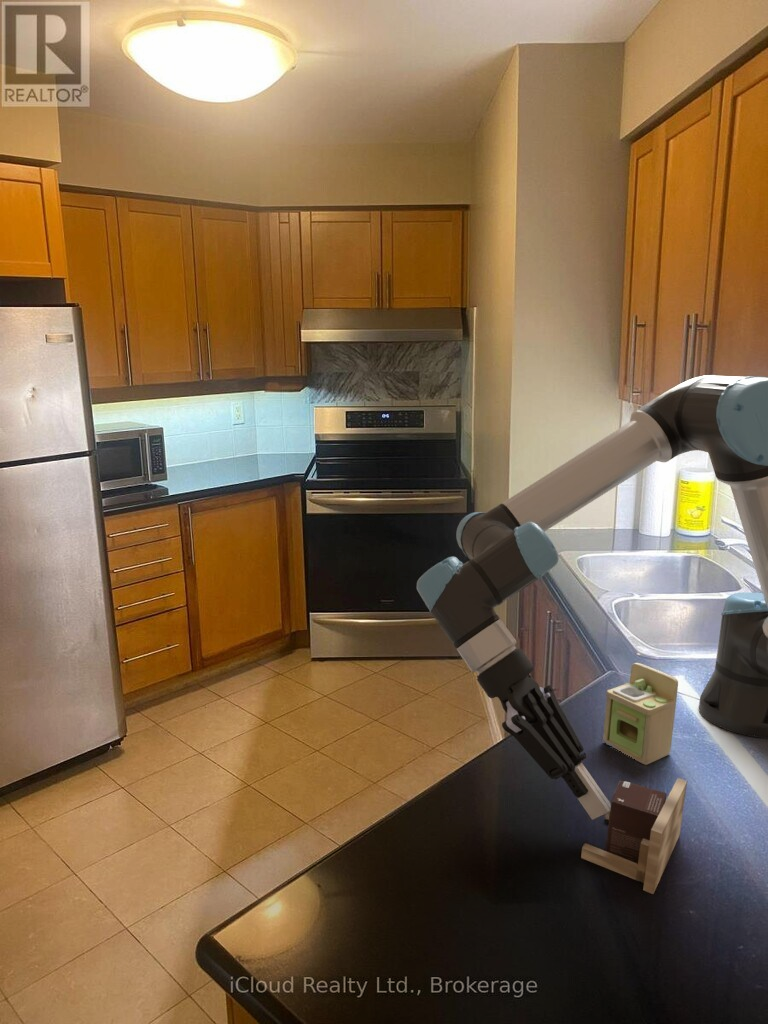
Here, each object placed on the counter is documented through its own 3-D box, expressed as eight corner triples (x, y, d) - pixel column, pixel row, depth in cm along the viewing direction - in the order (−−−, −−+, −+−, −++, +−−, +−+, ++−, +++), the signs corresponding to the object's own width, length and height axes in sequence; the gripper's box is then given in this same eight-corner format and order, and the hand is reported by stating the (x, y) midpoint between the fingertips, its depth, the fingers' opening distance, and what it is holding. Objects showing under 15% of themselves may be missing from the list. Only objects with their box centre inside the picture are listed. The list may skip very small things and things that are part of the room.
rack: (610, 810, 104) (617, 758, 103) (679, 835, 100) (687, 780, 98) (577, 863, 93) (584, 805, 91) (653, 894, 88) (661, 833, 86)
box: (653, 869, 92) (660, 816, 91) (603, 852, 95) (610, 800, 94) (660, 843, 98) (667, 792, 96) (613, 827, 101) (620, 778, 99)
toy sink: (598, 743, 123) (607, 669, 121) (626, 732, 127) (634, 660, 125) (643, 767, 116) (653, 689, 114) (670, 754, 121) (680, 679, 118)
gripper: (497, 658, 111) (595, 800, 105) (455, 688, 100) (563, 848, 94) (534, 633, 107) (638, 779, 101) (495, 661, 96) (609, 827, 90)
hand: (602, 812), depth 98 cm, fingers closed
